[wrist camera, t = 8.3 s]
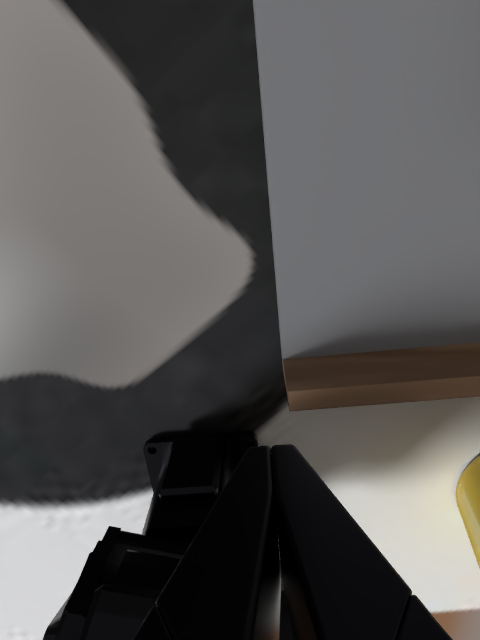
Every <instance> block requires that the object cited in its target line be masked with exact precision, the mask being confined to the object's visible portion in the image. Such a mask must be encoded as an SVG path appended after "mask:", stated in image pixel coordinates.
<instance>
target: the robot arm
mask: <svg viewBox="0 0 480 640" xmlns="http://www.w3.org/2000/svg"><path fill="white" fill-rule="evenodd" d="M246 440H251V441H252V442H246ZM150 447H154V448H156V449H155V450H154V449H151V448H150ZM143 451H144V455H145V459H146V464H147V468H148V472H149V476H150V480H151V484H152V488H153V492H154V494H153V498H152V501H151V504H150V508H149V511H148V515H147V518H146V522H145V525H144V528H143V532H142V535H141V534H136V533H131V532H125V531H121V528H117V527H112V526H109V527H108V529H107V531H106V533H105V535H104V537H103V539H102V541H98V543H97V545H96V547H95V549H94V551H93V552H91V553H90V554H89V556H88V559H87V561H86V563H85V566H84V568H83V571H82V573H81V576H80V578H79V580H78V582H77V584H76V586H75V588H74V590H73V592H72V593H71V595H70V596H69V598H68V599H67V600H66V602H65V603H64V605H63V606H62V607H61V609H60V610H59V612H58V613H57V614H56V616H55V617H54V619H53V620H52V621H51V623H50V624H49V626H48V628H47V630H46V632H45V635H44V638H43V640H452V638H451V637H450V636H449V635H448V634H447V632H446V631H445V630H444V629H443V628H442V627H441V625H440V624H439V623H438V622H437V621H436V620H435V618H434V617H433V616H432V615H431V613H430V612H429V611H428V610H427V608H426V607H425V606H424V605H423V603H422V602H421V601H420V600H419V598H418V597H417V596H416V595H412V591H411V589H410V588H409V587H408V585H407V584H406V583H405V582H404V580H403V579H402V578H401V577H400V575H399V574H398V573H397V572H396V570H395V569H394V568H393V567H392V566H391V564H390V563H389V562H388V561H387V559H386V558H385V557H384V556H383V554H382V553H381V552H380V551H379V550H378V548H377V547H376V546H375V545H374V543H373V542H372V541H371V540H370V538H369V537H368V536H367V535H366V534H365V532H364V531H363V530H362V529H361V527H360V526H359V525H358V524H357V522H356V521H355V520H354V519H353V518H352V516H351V515H350V514H349V513H348V511H347V510H346V509H345V508H344V506H343V505H342V504H341V503H340V502H339V500H338V499H337V498H336V497H335V495H334V494H333V493H332V492H331V490H330V489H329V488H328V487H327V485H326V484H325V483H324V482H323V481H322V479H321V478H320V477H319V476H318V474H317V473H316V472H315V471H314V469H313V468H312V467H311V466H310V465H309V463H308V462H307V461H306V460H305V458H304V457H303V456H302V455H301V453H300V452H299V451H298V450H297V449H296V447H295V446H294V445H291V444H287V445H274V446H273V447H272V448H270V447H269V446H258V439H257V435H256V434H255V433H253V432H248V431H247V432H234V433H221V434H204V435H191V436H178V437H169V438H156V439H149V440H148V441H146V443H145V446H144V448H143ZM271 454H272V456H271ZM278 540H279V542H278ZM279 551H280V554H279Z"/></svg>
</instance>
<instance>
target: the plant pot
mask: <svg viewBox="0 0 480 640" xmlns="http://www.w3.org/2000/svg"><path fill="white" fill-rule="evenodd" d="M456 501H457V505H458V508H459V511H460V514H461V517H462V519H463V522H464V525H465V528H466V531H467V534H468V537H469V539H470V542H471V545H472V548H473V551H474V554H475V557H476V559H477V562H478V565H479V568H480V455H479V456H478V457H476V458H475V459H474V460H473V461H472V462H471V463H470V464H469V465H468V466H467V467H466V468H465V470H464V471H463V473H462V474H461V476H460V478H459V480H458V483H457V488H456Z"/></svg>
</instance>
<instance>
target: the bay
mask: <svg viewBox="0 0 480 640" xmlns="http://www.w3.org/2000/svg"><path fill="white" fill-rule="evenodd" d="M253 8H254V20H255V33H256V45H257V57H258V70H259V82H260V94H261V107H262V119H263V131H264V144H265V156H266V168H267V180H268V193H269V205H270V217H271V230H272V242H273V254H274V267H275V279H276V291H277V303H278V316H279V328H280V340H281V353H282V365H283V373H284V379H285V386H286V392H287V399H288V405H289V411H300V410H312V409H325V408H338V407H350V406H363V405H376V404H388V403H401V402H414V401H426V400H439V399H452V398H464V397H477V396H480V0H253Z"/></svg>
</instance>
